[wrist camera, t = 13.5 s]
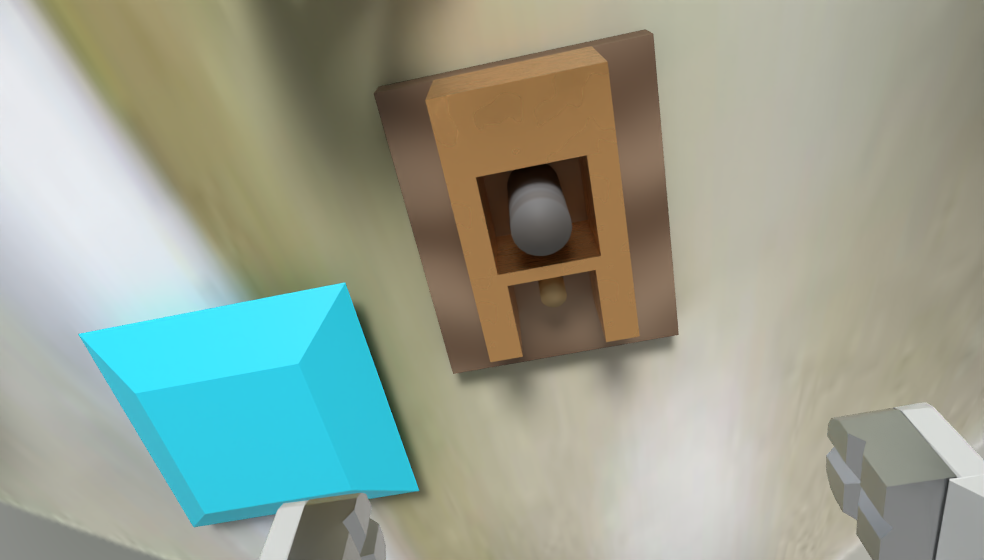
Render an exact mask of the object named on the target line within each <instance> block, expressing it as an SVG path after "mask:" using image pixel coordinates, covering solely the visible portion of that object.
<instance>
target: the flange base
mask: <svg viewBox="0 0 984 560" xmlns="http://www.w3.org/2000/svg"><path fill="white" fill-rule="evenodd" d="M590 46H592V47H593V48H594V49H595V50H596V51H597V52H598V53H599V54H600V55H601V56H602V57H603V58H604V59H605V60H607V61H608V69H609V78H610V87H611V95H612V104H613V112H614V121H615V129H616V138H617V146H618V155H619V164H620V172H621V181H622V189H623V198H624V206H625V215H626V223H627V232H628V241H629V249H630V258H631V266H632V275H633V283H634V292H635V300H636V309H637V318H638V326H639V335H640V336H639V337H633V338H628V339H622V340H616V341H610V342H606V340H605V336H604V333H603V330H602V326H601V323H600V320H599V316H598V313H597V310H596V306H595V303H594V300H593V294H592V287H591V281H590V274H589V271H587V272H581V273H576V274H570V275H565V276H560V277H554V278H549V279H543V280H538V281H532V282H527V283H521V284H516V285H513V287H514V291H515V296H516V301H517V305H518V310H519V318H520V330H521V341H522V353H523V357H518V358H512V359H507V360H501V361H495V362H490V359H489V355H488V351H487V346H486V342H485V338H484V334H483V330H482V326H481V322H480V318H479V314H478V310H477V306H476V302H475V298H474V294H473V290H472V286H471V282H470V278H469V274H468V270H467V266H466V262H465V258H464V254H463V250H462V246H461V242H460V238H459V234H458V230H457V226H456V222H455V218H454V214H453V210H452V206H451V201H450V197H449V193H448V189H447V185H446V181H445V177H444V173H443V169H442V165H441V161H440V157H439V153H438V149H437V145H436V141H435V137H434V133H433V129H432V125H431V121H430V117H429V113H428V109H427V105H426V101H425V100H426V97H427V95H428V92H429V89H430V87H431V84H432V82H433V80H436V79H440V78H445V77H450V76H454V75H459V74H464V73H469V72H473V71H478V70H483V69H487V68H492V67H497V66H501V65H506V64H511V63H515V62H520V61H525V60H529V59H534V58H539V57H543V56H548V55H553V54H557V53H562V52H567V51H571V50H576V49H581V48H586V47H590ZM374 96H375V99H376V103H377V106H378V110H379V114H380V117H381V121H382V124H383V128H384V131H385V135H386V138H387V142H388V145H389V149H390V152H391V156H392V159H393V163H394V166H395V170H396V174H397V177H398V181H399V184H400V188H401V191H402V195H403V198H404V202H405V205H406V209H407V212H408V216H409V219H410V223H411V226H412V230H413V233H414V237H415V241H416V244H417V248H418V251H419V255H420V258H421V262H422V265H423V269H424V272H425V276H426V279H427V283H428V286H429V290H430V293H431V297H432V301H433V304H434V308H435V311H436V315H437V318H438V322H439V325H440V329H441V332H442V336H443V339H444V343H445V346H446V350H447V353H448V357H449V360H450V364H451V368H452V371H453V374H455V373H461V372H466V371H472V370H478V369H484V368H489V367H495V366H501V365H507V364H513V363H518V362H524V361H530V360H536V359H541V358H547V357H553V356H559V355H565V354H570V353H576V352H582V351H588V350H593V349H599V348H605V347H611V346H617V345H622V344H628V343H634V342H640V341H645V340H651V339H657V338H663V337H669V336H674V335H679V334H678V322H677V310H676V298H675V286H674V274H673V262H672V251H671V239H670V227H669V215H668V203H667V191H666V179H665V167H664V156H663V144H662V132H661V120H660V108H659V96H658V84H657V72H656V61H655V49H654V37H653V33H651V32H649V31H647V30H641V31H636V32H631V33H627V34H622V35H618V36H613V37H608V38H604V39H599V40H594V41H590V42H585V43H580V44H576V45H571V46H566V47H562V48H557V49H552V50H548V51H543V52H538V53H534V54H529V55H524V56H520V57H515V58H510V59H506V60H501V61H496V62H492V63H487V64H482V65H478V66H473V67H468V68H464V69H459V70H454V71H450V72H445V73H441V74H436V75H431V76H427V77H422V78H417V79H413V80H408V81H403V82H399V83H394V84H389V85H385V86H380V87H378V89H377V90H376V91H375V93H374ZM483 178H484V183H485V187H486V192H487V196H488V201H489V205H490V210H491V214H492V219H493V224H494V228H495V233H496V237H500V236H505V235H512V238H513V240H514V242H515V244H516V245H517V246H518V247H519V248H520V249H521V250H522V251H524V252H526V253H528V254H530V255H534V256H546V255H550V254H553V253H555V252H557V251H559V250H560V249H561V248H562V247H564V245H565V244H566V243H567V241H568V240H569V238H570V235H571V232H572V223H574V222H579V221H584V220H588V218H587V211H586V204H585V198H584V191H583V184H582V177H581V170H580V163H579V157H575V158H570V159H565V160H560V161H555V162H550V163H545V164H540V165H535V166H530V167H525V168H520V169H515V170H510V171H505V172H500V173H495V174H490V175H485V176H483Z"/></svg>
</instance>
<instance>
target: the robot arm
mask: <svg viewBox="0 0 984 560" xmlns="http://www.w3.org/2000/svg"><path fill="white" fill-rule="evenodd" d="M827 436H828V438H829V439H830V441H831V442H832V444H833V445H834V447H833V449H832V450H831V451H830V452H829V453H828V454H827V456H826V472H827V476H828V480H829V484H830V488H831V490H832V492H833V495H834V497H835V499H836V501H837V503H838V504H839V506H840V508H841V510H842V511H843V512H844V513H846V514H848V515H849V516H851V517H853V518H854V519H856V520H857V532H856V534H857V536H858V537H859V539H860V541H861V542H862V544H863V545H864V547H865V549H866V550H867V552H868V553H869V555H870V557H871V558H872V560H984V459H983V458H982V457H981V456H980V455H979V454H978V453H977V452H976V451H975V450H974V449H973V448H972V447H971V446H970V444H969V443H968V442H967V441H966V440H965V439H964V438H963V437H962V436H961V435H960V434H959V433H958V432H957V431H956V430H955V429H954V428H953V427H952V426H951V425H950V424H949V423H948V421H947V420H946V419H945V418H944V417H943V416H942V415H941V414H940V413H939V412H938V411H937V410H936V409H935V408H934V407H933V406H932V405H930V404H928V403H926V402H923V403H917V404H911V405H905V406H900V407H894V408H892V409H891V408H888V409H882V410H876V411H870V412H864V413H858V414H853V415H847V416H841V417H835V418H831V420H830V422H829V424H828V433H827ZM371 509H372V506H371V504H370V502H369V499H368V497H367V495H366V494H364V493H354V494H347V495H339V496H331V497H324V498H316V499H310V500H306V501H298V502H290V503H283V505H282V506H281V507H280V508H279V509H278V510H277V512H276V515H275V518H274V520H273V523H272V526H271V528H270V531H269V534H268V536H267V539H266V542H265V545H264V547H263V550H262V553H261V555H260V558H259V560H386V545H385V541H384V536H383V533H382V530H381V527H380V525H379V524H378V523H377V522H375V521H374V520H372V519H370V514H371Z"/></svg>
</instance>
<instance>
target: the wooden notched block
mask: <svg viewBox="0 0 984 560" xmlns="http://www.w3.org/2000/svg"><path fill="white" fill-rule="evenodd" d="M425 101H426V105H427V109H428V113H429V117H430V121H431V125H432V129H433V133H434V137H435V141H436V145H437V149H438V153H439V157H440V161H441V165H442V169H443V173H444V177H445V181H446V185H447V189H448V193H449V197H450V201H451V206H452V210H453V214H454V218H455V222H456V226H457V230H458V234H459V238H460V242H461V246H462V250H463V254H464V258H465V262H466V266H467V270H468V274H469V278H470V282H471V286H472V290H473V294H474V298H475V302H476V306H477V310H478V314H479V318H480V322H481V326H482V330H483V334H484V338H485V342H486V346H487V351H488V355H489V359H490V362H495V361H501V360H507V359H512V358H518V357H523V353H522V341H521V330H520V318H519V310H518V305H517V301H516V296H515V291H514V287H513V285H516V284H521V283H527V282H532V281H538V280H543V279H549V278H554V277H560V276H565V275H570V274H576V273H581V272H587V271H589V274H590V281H591V287H592V294H593V300H594V303H595V306H596V310H597V313H598V316H599V320H600V323H601V326H602V330H603V333H604V336H605V340H606V342H610V341H616V340H622V339H628V338H633V337H639V336H640V335H639V326H638V318H637V309H636V300H635V292H634V283H633V275H632V266H631V258H630V249H629V241H628V232H627V223H626V215H625V206H624V198H623V189H622V181H621V172H620V164H619V155H618V146H617V138H616V129H615V121H614V112H613V104H612V95H611V87H610V78H609V69H608V61H607V60H605V59H604V58H603V57H602V56H601V55H600V54H599V53H598V52H597V51H596V50H595V49H594V48H593V47H592V46H590V47H586V48H581V49H576V50H571V51H567V52H562V53H557V54H553V55H548V56H543V57H539V58H534V59H529V60H525V61H520V62H515V63H511V64H506V65H501V66H497V67H492V68H487V69H483V70H478V71H473V72H469V73H464V74H459V75H454V76H450V77H445V78H440V79H436V80H433V82H432V84H431V87H430V89H429V92H428V95H427V97H426V100H425ZM575 157H579V163H580V170H581V177H582V184H583V191H584V198H585V204H586V211H587V218H588V220H584V221H579V222H574V223H572V232H571V235H570V238H569V240H568V241H567V243H566V244H565V245H564V247H562V248H561V249H560V250H559V251H557V252H555V253H553V254H550V255H546V256H534V255H530V254H528V253H526V252H524V251H522V250H521V249H520V248H519V247H518V246H517V245H516V244H515V242H514V240H513V238H512V235H505V236H500V237H496V233H495V228H494V224H493V219H492V214H491V210H490V205H489V201H488V196H487V192H486V187H485V183H484V178H483V176H485V175H490V174H495V173H500V172H505V171H510V170H515V169H520V168H525V167H530V166H535V165H540V164H545V163H550V162H555V161H560V160H565V159H570V158H575Z"/></svg>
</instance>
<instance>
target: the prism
mask: <svg viewBox="0 0 984 560" xmlns="http://www.w3.org/2000/svg"><path fill="white" fill-rule="evenodd" d="M79 336H80V338H81V339H82V341H83V343H84V344H85V346H86V348H87V349H88V351H89V353H90V354H91V356H92V358H93V360H94V361H95V363H96V365H97V366H98V368H99V370H100V371H101V373H102V375H103V376H104V378H105V380H106V381H107V383H108V385H109V386H110V388H111V390H112V391H113V393H114V395H115V396H116V398H117V400H118V401H119V403H120V405H121V406H122V408H123V410H124V411H125V413H126V415H127V416H128V418H129V420H130V421H131V423H132V425H133V427H134V428H135V430H136V432H137V433H138V435H139V437H140V438H141V440H142V442H143V443H144V445H145V447H146V448H147V450H148V452H149V453H150V455H151V457H152V458H153V460H154V462H155V463H156V465H157V467H158V468H159V470H160V472H161V473H162V475H163V477H164V478H165V480H166V482H167V483H168V485H169V487H170V488H171V490H172V492H173V494H174V495H175V497H176V499H177V500H178V502H179V504H180V505H181V507H182V509H183V510H184V512H185V514H186V515H187V517H188V519H189V520H190V522H191V524H192V525H193V527H198V526H205V525H211V524H217V523H223V522H229V521H236V520H242V519H248V518H254V517H260V516H267V515H273V514H276V512H277V510H278V509H279V508H280V507H281V506H282V505H283V503H290V502H298V501H306V500H310V499H316V498H324V497H331V496H339V495H347V494H354V493H364V494H366V495H367V497H368V499H372V498H378V497H384V496H390V495H396V494H403V493H409V492H415V491H419V488H418V486H417V483H416V480H415V477H414V474H413V472H412V469H411V466H410V463H409V460H408V457H407V455H406V452H405V449H404V446H403V443H402V441H401V438H400V435H399V432H398V429H397V427H396V424H395V421H394V418H393V415H392V413H391V410H390V407H389V404H388V401H387V398H386V396H385V393H384V390H383V387H382V384H381V382H380V379H379V376H378V373H377V370H376V368H375V365H374V362H373V359H372V356H371V354H370V351H369V348H368V345H367V342H366V339H365V337H364V334H363V331H362V328H361V325H360V323H359V320H358V317H357V314H356V311H355V309H354V306H353V303H352V300H351V297H350V294H349V292H348V289H347V286H346V283H340V284H335V285H330V286H324V287H319V288H314V289H309V290H304V291H298V292H293V293H288V294H283V295H278V296H273V297H267V298H262V299H257V300H252V301H247V302H241V303H236V304H231V305H226V306H221V307H216V308H210V309H205V310H200V311H195V312H190V313H184V314H179V315H174V316H169V317H164V318H159V319H153V320H148V321H143V322H138V323H133V324H127V325H122V326H117V327H112V328H107V329H102V330H96V331H91V332H86V333H81V334H79Z"/></svg>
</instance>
